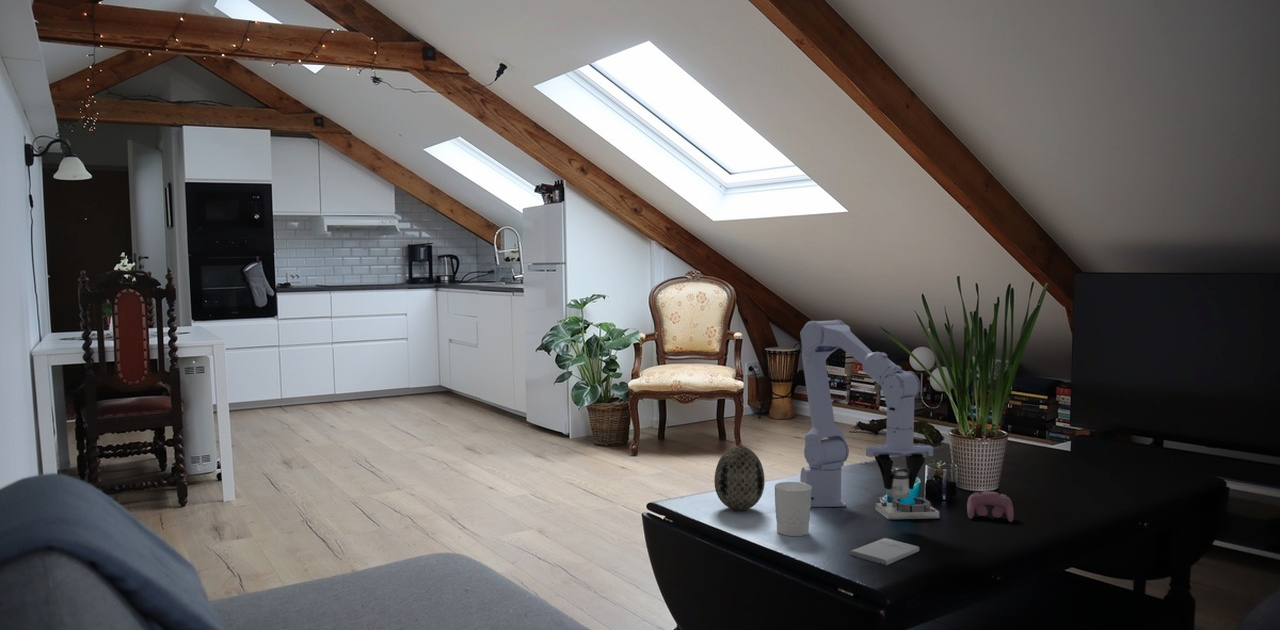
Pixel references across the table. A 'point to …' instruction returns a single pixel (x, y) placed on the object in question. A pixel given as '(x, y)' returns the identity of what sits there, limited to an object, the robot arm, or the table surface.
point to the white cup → (793, 508)
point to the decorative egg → (739, 478)
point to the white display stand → (907, 509)
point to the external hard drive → (885, 551)
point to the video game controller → (990, 498)
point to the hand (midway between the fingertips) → (898, 488)
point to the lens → (899, 483)
